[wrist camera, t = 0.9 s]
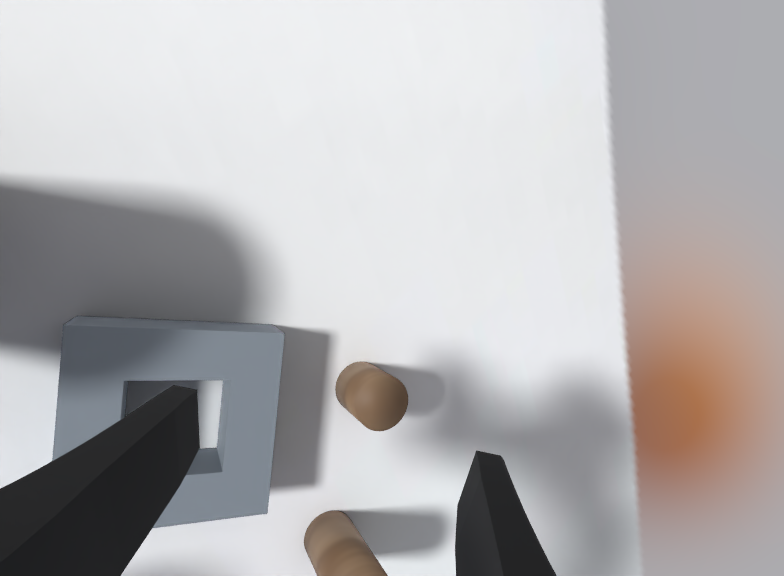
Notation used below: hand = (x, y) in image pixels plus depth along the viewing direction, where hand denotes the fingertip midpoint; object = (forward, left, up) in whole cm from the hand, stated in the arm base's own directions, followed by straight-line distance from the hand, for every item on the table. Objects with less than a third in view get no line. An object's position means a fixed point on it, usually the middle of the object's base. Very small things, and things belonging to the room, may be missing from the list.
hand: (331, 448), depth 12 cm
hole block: (-3, +3, -15) cm, 15 cm away
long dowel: (-11, -6, -15) cm, 19 cm away
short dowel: (-2, -7, -15) cm, 16 cm away
